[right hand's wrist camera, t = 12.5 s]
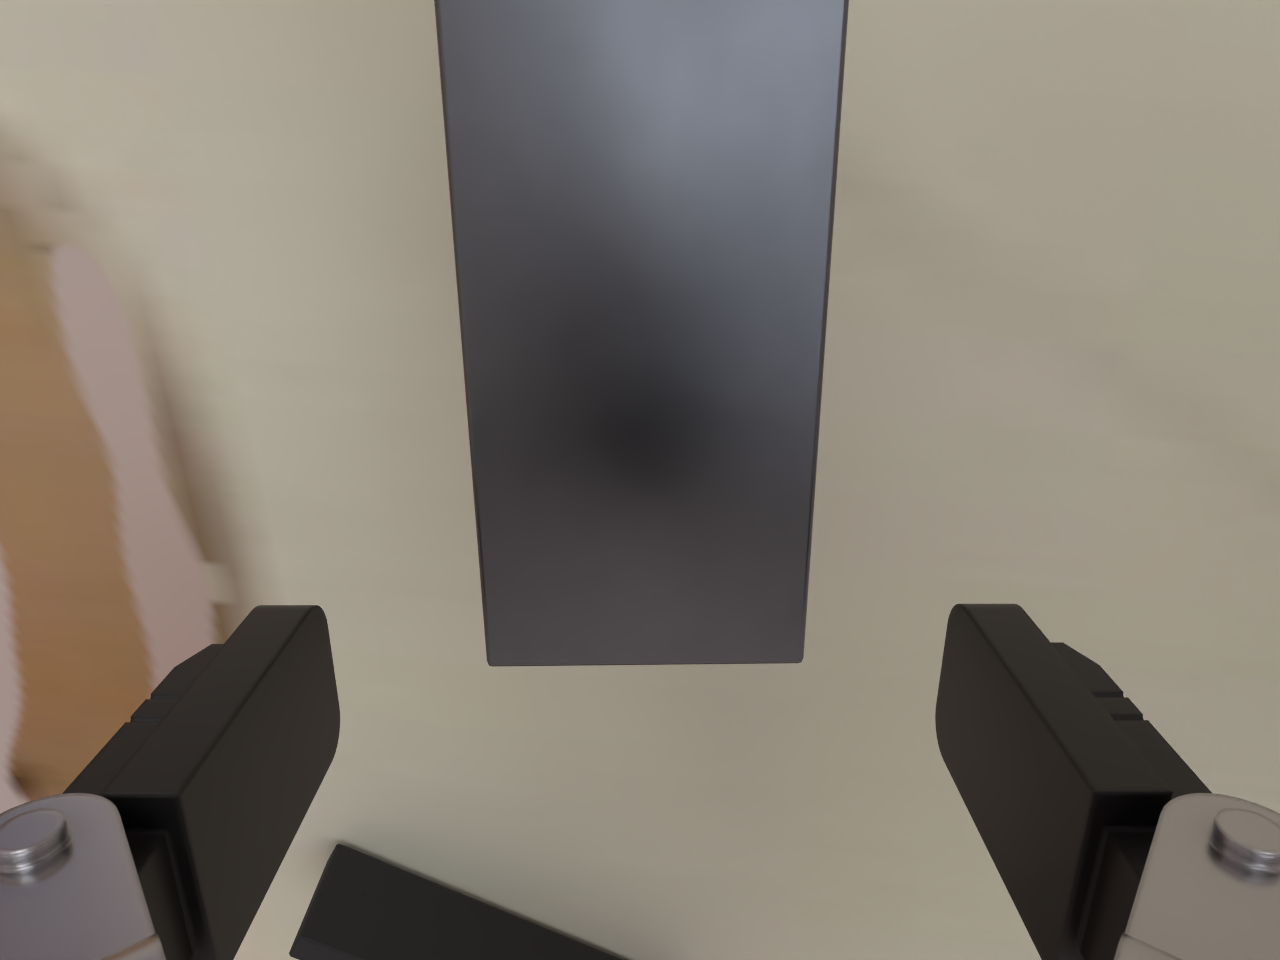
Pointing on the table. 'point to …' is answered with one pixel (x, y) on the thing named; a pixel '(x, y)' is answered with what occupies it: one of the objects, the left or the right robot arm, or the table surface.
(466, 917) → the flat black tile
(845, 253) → the table surface
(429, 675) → the table surface
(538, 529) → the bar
